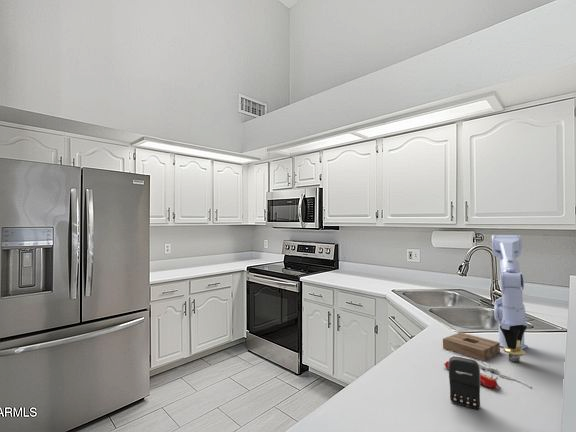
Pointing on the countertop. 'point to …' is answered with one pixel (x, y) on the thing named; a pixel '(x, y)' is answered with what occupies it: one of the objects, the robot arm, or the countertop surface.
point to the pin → (515, 352)
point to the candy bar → (482, 379)
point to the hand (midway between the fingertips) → (513, 347)
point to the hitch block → (471, 346)
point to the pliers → (491, 369)
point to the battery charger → (464, 381)
